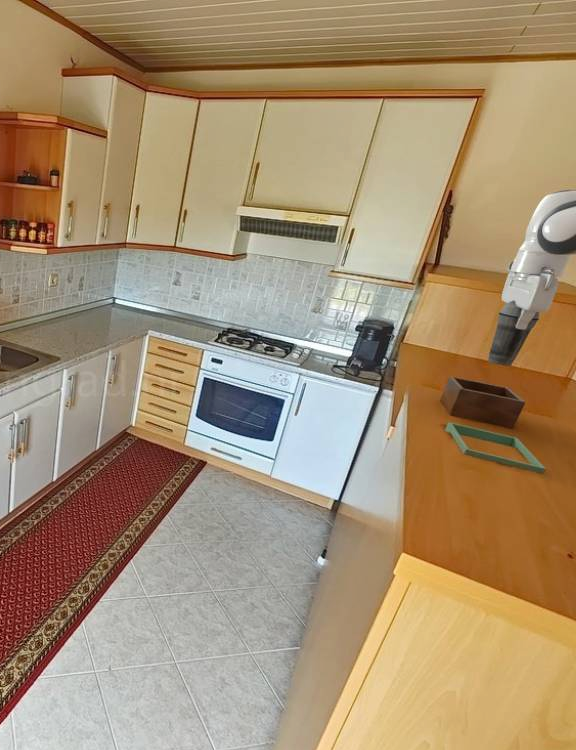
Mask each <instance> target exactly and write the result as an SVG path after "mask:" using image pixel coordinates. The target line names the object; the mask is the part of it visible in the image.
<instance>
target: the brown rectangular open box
mask: <svg viewBox="0 0 576 750" xmlns="http://www.w3.org/2000/svg"><path fill="white" fill-rule="evenodd" d="M439 401H440V402H441V404H442V405H443V407H444V408H445V410H446V411H447V413H448V414H449V416H454V417H457V418H462V419H467V420H470V421H476V422H480V423H484V424H488V423H489V425H493V426H497V425H498V427H502V426H503V427H502V428H506V427H507V429H510V430H514V428H515V426H516V424H517V421H518V420H519V417H520V415H521V413H522V411H523V409H524V406H525V405H526V401H525V400H524V399H523V398H521V397H520V396H519V395H518V394H517V393H515V392H514V391H513V390H512V389H511V388H509V387H506V386H501V385H496V384H491V383H488V382H487V383H486V382H481V381H476V380H473V379H468V378H467V379H466V378H462V377H456V376H450V375H449V376H448V379H447V382H446V384H445V387H444V388H443V391H442V394H441V396H440V399H439Z"/></svg>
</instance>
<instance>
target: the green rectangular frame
mask: <svg viewBox="0 0 576 750" xmlns="http://www.w3.org/2000/svg"><path fill="white" fill-rule="evenodd" d="M444 432H447V433H450V434H451V436H452V438H453V439H454V441H455V442H456V444H457V445H458V447H459V449H460V451H461V452H462V454H463V455H466V456H470V457H473V458H478V459H482V460H487V461H489V462H494V463H498V464H502V465H505V466H510V467H513V468H517V469H522V470H526V471H529V472H533V473H538V474H541V475H544V474H545V473H546V470H547V468H546V467H545V466H544V465H543V464H542V462H540V461H539V460H538V459H537V457H536V456H534V454H533V453H532V452H531V451H530V450H529V449H528V448H527V447H526V446H525V445H524V444H523V443H522V441H521V440H520V439H519V438H518V437H516V436H511V435H507V434H502V433H497V432H493V431H489V430H484V429H480V428H476V427H471V426H468V425H463V424H459V423H456V422H450V421H448V422H447V424H446V427H445V430H444ZM462 436H464V437H468V438H470V439H471V438H472V439H476V440H480V441H485V442H489V443H492V444H496V445H502V446H506V447H509V448H513V449H514V448H515V449H518V451H519V452H520V453H521V454H522V455H523V457H525V459H526V460H527V461H528V462H529V463H527V462H523V461H519V460H516V459H512V458H507V457H504V456H499V455H495V454H492V453H486V452H482V451H479V450H475V449H471V448H469V447H468V446H467V444H466V442H465V441H464V440H463V438H462Z"/></svg>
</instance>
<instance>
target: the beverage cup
mask: <svg viewBox="0 0 576 750" xmlns="http://www.w3.org/2000/svg"><path fill="white" fill-rule="evenodd" d="M521 311H522V308H519V307H517V306H516V303H515V301H514V300H513V301H511V302H509V303H506V304H505V305H504V306H503V307H502V308H501V310H500V311H499V312H498V318H497V325H496V329H495V332H494V336H493V340H492V342H491V346H490V349H489V353H488V358H487V362H489V363H491V364H495V365H500V366H503V367H504V366H505V367H511V366H512V365H513V363H514V361H515V360H516V358H517V356H518V354H519V353H520V351H521V349H522V348H523V346H524V344H525V342H526V340H527V338H528V336H529V334H530V332H531V331H532V329H534V327H535V326H536V324H537V322H538V321H539V320H540V319H539V317H540V312H536V313H535V316H534V317H533V318H532V319H531V321H530V322H529V323H528V326H527V328H526V329H524V330H522V329H517V328H515V324H516V321H517V320H518V319H519V318H520V316H521Z"/></svg>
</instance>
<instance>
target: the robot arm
mask: <svg viewBox="0 0 576 750" xmlns="http://www.w3.org/2000/svg"><path fill="white" fill-rule="evenodd" d="M572 255H576V189H567V190H559V191H555V192H551V193H549V194H547V195H546V196H544V197H543V198H542V199H541V201H540V202H539V204H538V205H537V206H536V209H535V210H534V212H533V214H532V217H531V218H530V221H529V223H528V226H527V228H526V230H525V239H524V241H523V244H521V246H520V247H519V249H518V251H517V253H516V255H515V258H514V259H513V260H511V261H510V263H509V265H508V267H507V271H508V274H507V277H506V280H505V283H504V286H503V289H502V293H501V302H504V303H506V304H507V303H509V302H511V301H513V300H514V301H515V303H516V306H517V307H519V308H522V311H521V316H520V318H519V319H518V320H517V321H516V324H515V328H517V329H522V330H524V329H526V328H527V326H528V323H529V322H530V321H531V319H532V318H533V317H534V316H535V313H536V312H539V313H545V314H546V313H547V312H548V311H549V310H550V308H551V306H552V303H553V301H554V298H555V295H556V293H557V289H558V287H559V279H558V278H562V276H563V274H564V272H565V270H566V267H567V266H568V264H569V261H570V258H571V256H572Z"/></svg>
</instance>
